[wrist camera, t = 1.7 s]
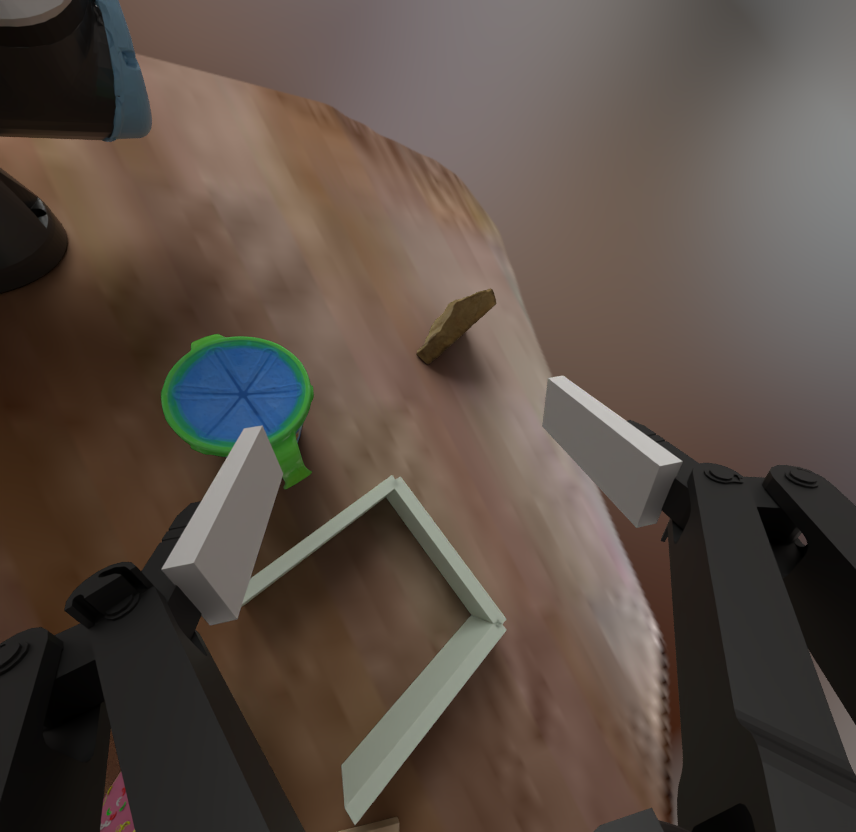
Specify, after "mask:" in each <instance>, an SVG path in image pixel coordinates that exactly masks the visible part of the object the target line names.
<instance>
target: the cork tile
mask: <svg viewBox="0 0 856 832" xmlns="http://www.w3.org/2000/svg"><path fill="white" fill-rule="evenodd" d="M338 832H399V820H398V817H394V818H390V819H386V820H382V821H378V822H374V823H370V824H366V825H362V826H358V827H354V828H350V829H346V830H342V831H338Z"/></svg>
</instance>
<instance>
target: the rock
mask: <svg viewBox="0 0 856 832" xmlns="http://www.w3.org/2000/svg"><path fill="white" fill-rule="evenodd" d="M495 305H496V299H495V296H494V292H493V290H492V289H488V290H484V291H480V292H477V293H475V294H473V295H471V296H467V297H465V298H463V299H458V300H455V301H453V302H451V303H450V304H448V306H447V308H446V309H445V312H444V313H443V314H442V315H441V316H440V317H439V318H437V319H436V320H435V322H434V324H433V325H432V326H431V329H430V331H429V335H428V336H427V337H426V340H425V344H424V345H423V346H422V347H421V348H420V349H419V350H418V351H417V355H418V356H419V357H420V358H421V359H422V360H423V361H424V362H425V363H426V364H430V363H431V362H433V360H434V359H437V358H438V357H439V356H440V355H441V354H442V353H443V352H444V351H445V350H446V349H447V348H448V347H449V346H451V345H452V344H453V343H454V342H455V341H456V340H457V339H458V338H460V337H461V336H462V335H463V334H464V333H465V332H466V331H467V330H468V329H469V328H471V326H472V325H473V324H475V323H476V322H477V321H478V320H479V319H480V318H481V317H483V316H484V315H485V314H486V313H487V312H488V311H489V310H490V309H491V308H492V307H493V306H495Z"/></svg>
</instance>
